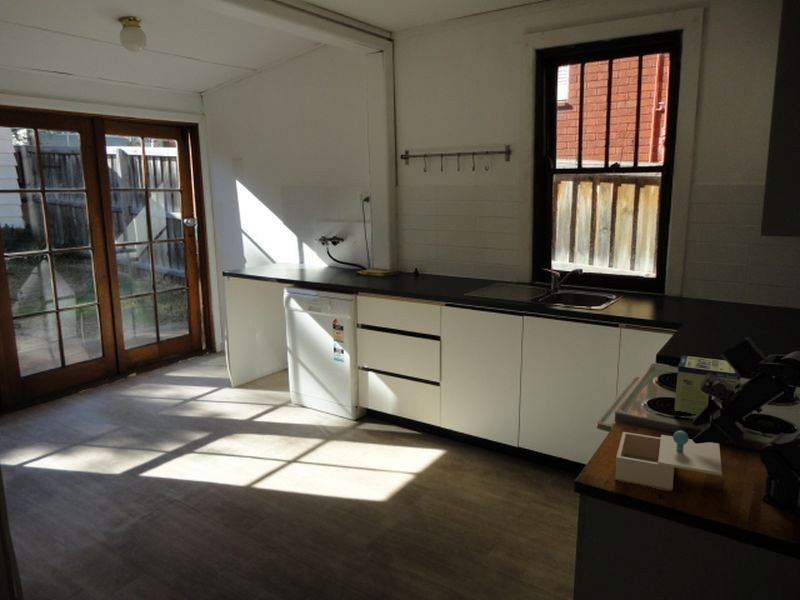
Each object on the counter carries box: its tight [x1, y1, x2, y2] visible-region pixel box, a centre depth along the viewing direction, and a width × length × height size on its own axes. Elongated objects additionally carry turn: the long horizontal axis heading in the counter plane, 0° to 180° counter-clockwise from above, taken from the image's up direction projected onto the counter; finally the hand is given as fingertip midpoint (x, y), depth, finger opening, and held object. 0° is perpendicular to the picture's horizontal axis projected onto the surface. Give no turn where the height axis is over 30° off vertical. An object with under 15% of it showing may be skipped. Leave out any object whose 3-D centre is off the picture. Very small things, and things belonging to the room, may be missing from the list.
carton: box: [614, 431, 675, 492], centre depth 138 cm, size 12×14×6 cm
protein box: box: [674, 355, 742, 415], centre depth 165 cm, size 10×16×16 cm
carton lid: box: [658, 430, 723, 476], centre depth 132 cm, size 12×14×6 cm
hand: (693, 432), depth 131 cm, fingers open, 9 cm apart
